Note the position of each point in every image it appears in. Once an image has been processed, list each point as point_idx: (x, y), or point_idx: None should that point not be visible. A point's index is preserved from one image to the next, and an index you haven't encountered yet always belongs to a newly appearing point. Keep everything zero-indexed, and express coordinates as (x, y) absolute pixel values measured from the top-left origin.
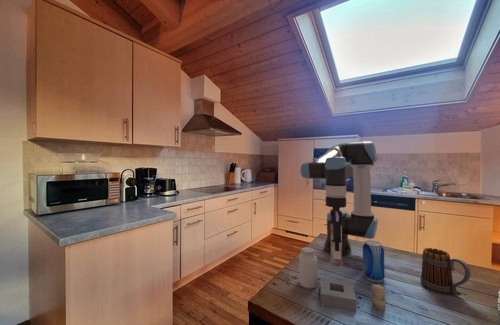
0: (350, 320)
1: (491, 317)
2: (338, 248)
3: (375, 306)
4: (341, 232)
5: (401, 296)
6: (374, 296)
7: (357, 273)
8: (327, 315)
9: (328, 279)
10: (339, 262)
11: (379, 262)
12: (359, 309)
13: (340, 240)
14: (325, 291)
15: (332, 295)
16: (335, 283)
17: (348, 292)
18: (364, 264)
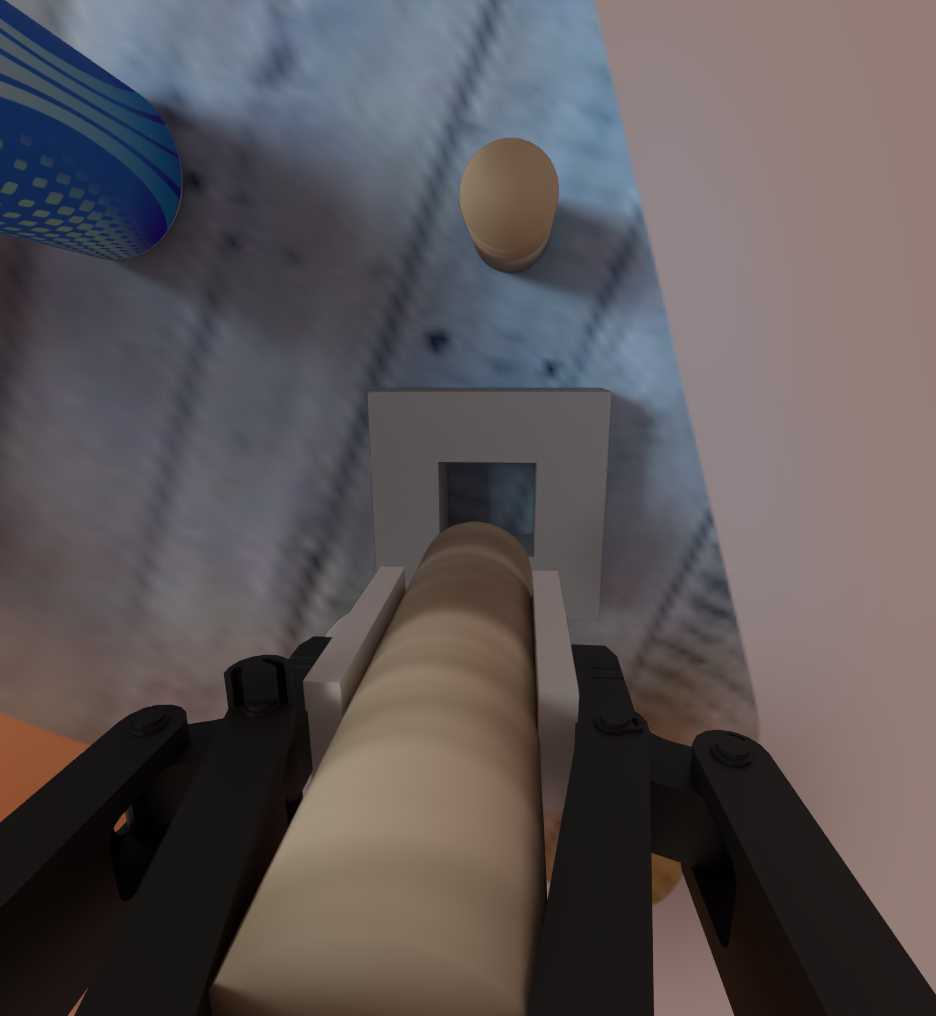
0: (694, 435)
1: None
2: (622, 680)
3: (541, 254)
4: (452, 780)
5: (319, 10)
6: (537, 246)
7: (98, 302)
8: (680, 558)
9: (391, 558)
10: (525, 565)
11: (48, 56)
12: (574, 365)
13: (776, 778)
14: (562, 588)
15: (597, 546)
16: (433, 513)
17: (530, 434)
18: (71, 232)
